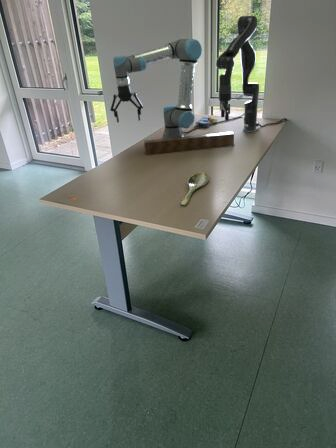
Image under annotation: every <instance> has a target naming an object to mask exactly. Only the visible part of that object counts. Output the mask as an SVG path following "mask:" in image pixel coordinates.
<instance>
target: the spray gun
mask: <svg viewBox="0 0 336 448" xmlns="http://www.w3.org/2000/svg"><path fill="white" fill-rule="evenodd" d="M215 122H218V119H217V118H216V117H214V116H213V117H212V116H211V117H210V116H208V115H207V116H201V118H200V119H197V121H196V122H195V126H197V127H200V126H203V127H202V128H207V127H210V126H212V125H211V123H215Z"/></svg>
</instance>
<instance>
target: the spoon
mask: <svg viewBox="0 0 336 448" xmlns="http://www.w3.org/2000/svg"><path fill="white" fill-rule="evenodd" d="M209 180H210V176H209V174H208V173H206V172H203V171H200V172H199V171H198V172H195V173H194V174H192V175H191V176H189V178H188V180H187V185H188V187H189V188H188V189H189V190H188V192H187V193H186V195H185V196H184V197H183V198H182V200H181V202H180V206H183V207H185V206H187V205H188V203H189V201H190V199H191V197H192V195H193V193H194V191H196V190H197V189H199V188H201V187H203V186H205V185H206V184H207V183H208V182H209Z"/></svg>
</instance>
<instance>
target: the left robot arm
mask: <svg viewBox="0 0 336 448" xmlns="http://www.w3.org/2000/svg"><path fill="white" fill-rule="evenodd" d="M202 53H203V48H202V44H201V43H200V41H199V40H197V39H195V38H179V39H177V40H173V41H171V42H168V43H165V44H164V45H163V46H159V47H157V48H153V49H150V50H146V51H142V52H137V53H135V54H131V55H127V56H126V55H116V56H114V57H113V58H112V59H113V61H112V62H113V68H114V73H115V81H116V85H117V87H116V88H117V94H116V93H114V94H113V95H112V97H113V99H112V103H111V106H110V110H109V111H110V112H113V115H114V118H116V122H117V123H119V122H120V119H119V113H118V110H117V109H118V108H119V106H120V104H121V103H122V102H123V103H124V102H130V103H131V104H133V106H134V107H135V108H136V109H137V110H136V111H137V118H138V119H137V120H138V121H139V122H140V121H141V115H142V109H143V108H144V105H143V103H142V102H141V100H140V99H139V97H138V96H137V95H138V94H137V92H135V91H134V92H132V90H131V85H130V76H129V74H131V73H138V72H143V71H145V70H146V69H147V65H150V64H154V63H157V62H161V61H164V60H168V61H170V60H178V61H179V64H180V65H181V66H180V76H179V87H178V97H177V104H173V105H166V106H165V107H163V121H164V130H163V135H162V139H165V138H175V137H185V136H184V134H190V133H191V132H193V131H195V130H198V129H202V128H204V127H203V126H197V127H195V128H192V129H190V130H188V131H183V129H189V128H191V126H193V124H194V122H195V119H196V117H195V114H194V113H193V106H192V104H191V103H192V94H193V86H194V85H193V84H194V75H195V66H197V64H198V61H199V59H200V58H201V57H202ZM132 97H133V98H134V99H135V100H136V101H135V100H134V99H133V98H132ZM117 99H119V100H118V102H117V104H116V101H117ZM115 104H116V106H115ZM242 117H244V113H242V114H241V115H239V116H236V117H232V118H229V120H227V121H226V120H225V119H224V120H220V121H217V122H215V123H211V122H210V123H211V125H210V126H212V125H217V124H220V123H221V124H222V123H225V122H230V121H233V120H236V119H240V118H242Z"/></svg>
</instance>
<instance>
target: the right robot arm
mask: <svg viewBox="0 0 336 448" xmlns="http://www.w3.org/2000/svg"><path fill="white" fill-rule="evenodd" d="M257 28H258V18H257V16H256V15H241V16H239V18H238V20H237V36H236V37H235V38H233V39H232V40H231V41H230V43H229V44H228V46H227V47H226V49H225V50H224V51H223V52H222V53H220V55H219V56H218V58H217V60H216V62H215V66H216V68H217V69H218V70H221V71H222V70H224V71H225V72H224V73H222V74H220V75H219V78H218V79H219V80H218V81H219V82H218V85H219V86H218V101H219V110H220V117H221V118H224V120H226V121H225V122H228V121H227V120H229V119H230V114H231V103H229V101H231V100H232V76H233V75H232V74H233V71H234V68H235V59H236V57H237V55H238V54H239V52H240V63H241V75H242V76H241V77H242V82H241V83H242V87H241V88H242V89H241V90H242V96H243V97H245V98H251V99H250V100H248V101H246V102H244V103H243V105H244V106H243V114H244V115H243V132H245V133H253V132H256V131H257V127H260V128H264V127H266V126H269V125H277V124H279V123H280V122H283V121H284V120H285V121H288V120H287V118H286V117H284V118H282V119H279V120H278V121H276V122H269V123H265V124H263V125H261V124H260V122H258V121H257V120H258V105H259V94H260V84H259V83H258V82H249V80H250V79H249V78H250V76H251V73H252V72H253V70H254V68H255V66H256V63H257V61H256V51H255V49H254V48H253V46H252V44H251V43H250V41H249V39H250V38H251V36H252V35H253V34H254V33H255V32H256V30H257ZM229 121H230V120H229Z"/></svg>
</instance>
